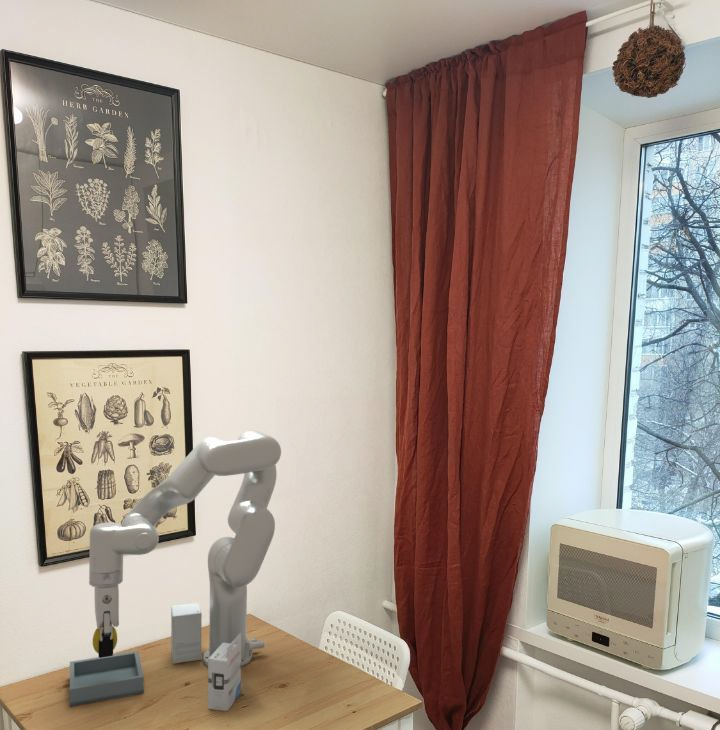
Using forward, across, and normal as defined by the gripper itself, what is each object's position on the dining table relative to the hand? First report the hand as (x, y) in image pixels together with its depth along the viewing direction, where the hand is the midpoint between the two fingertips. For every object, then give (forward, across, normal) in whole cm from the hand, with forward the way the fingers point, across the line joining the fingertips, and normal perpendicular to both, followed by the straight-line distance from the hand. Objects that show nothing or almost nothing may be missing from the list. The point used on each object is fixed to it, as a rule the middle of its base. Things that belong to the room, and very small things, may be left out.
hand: (105, 649), depth 162 cm
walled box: (+9, 0, 0) cm, 9 cm away
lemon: (+2, 0, 0) cm, 2 cm away
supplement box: (+9, +8, -20) cm, 24 cm away
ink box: (+9, -17, -25) cm, 32 cm away
